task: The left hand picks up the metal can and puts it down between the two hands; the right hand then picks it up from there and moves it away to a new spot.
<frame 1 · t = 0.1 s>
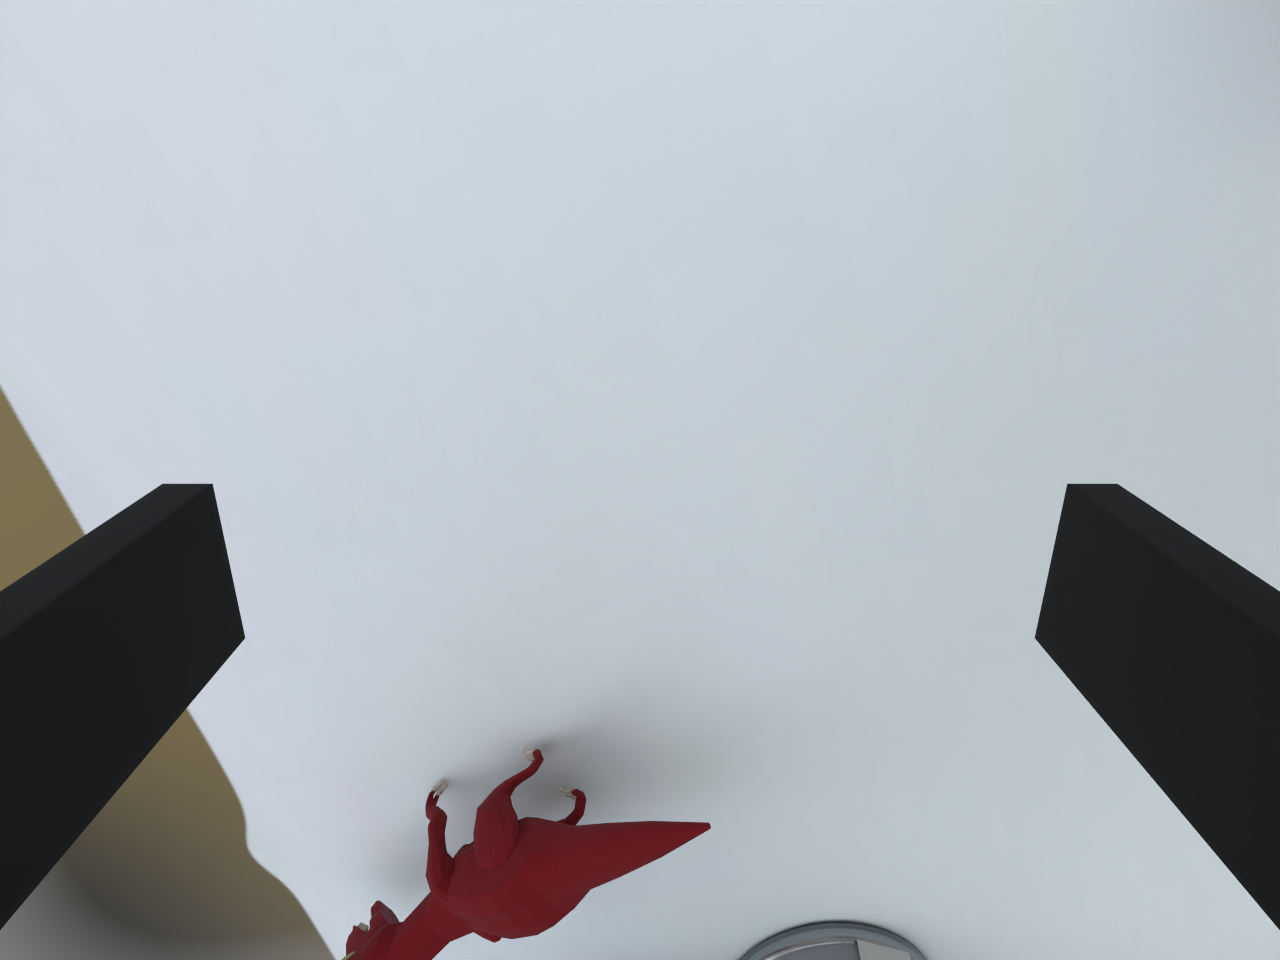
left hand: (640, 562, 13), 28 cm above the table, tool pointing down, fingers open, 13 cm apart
toy 2: (523, 781, 49), on the table
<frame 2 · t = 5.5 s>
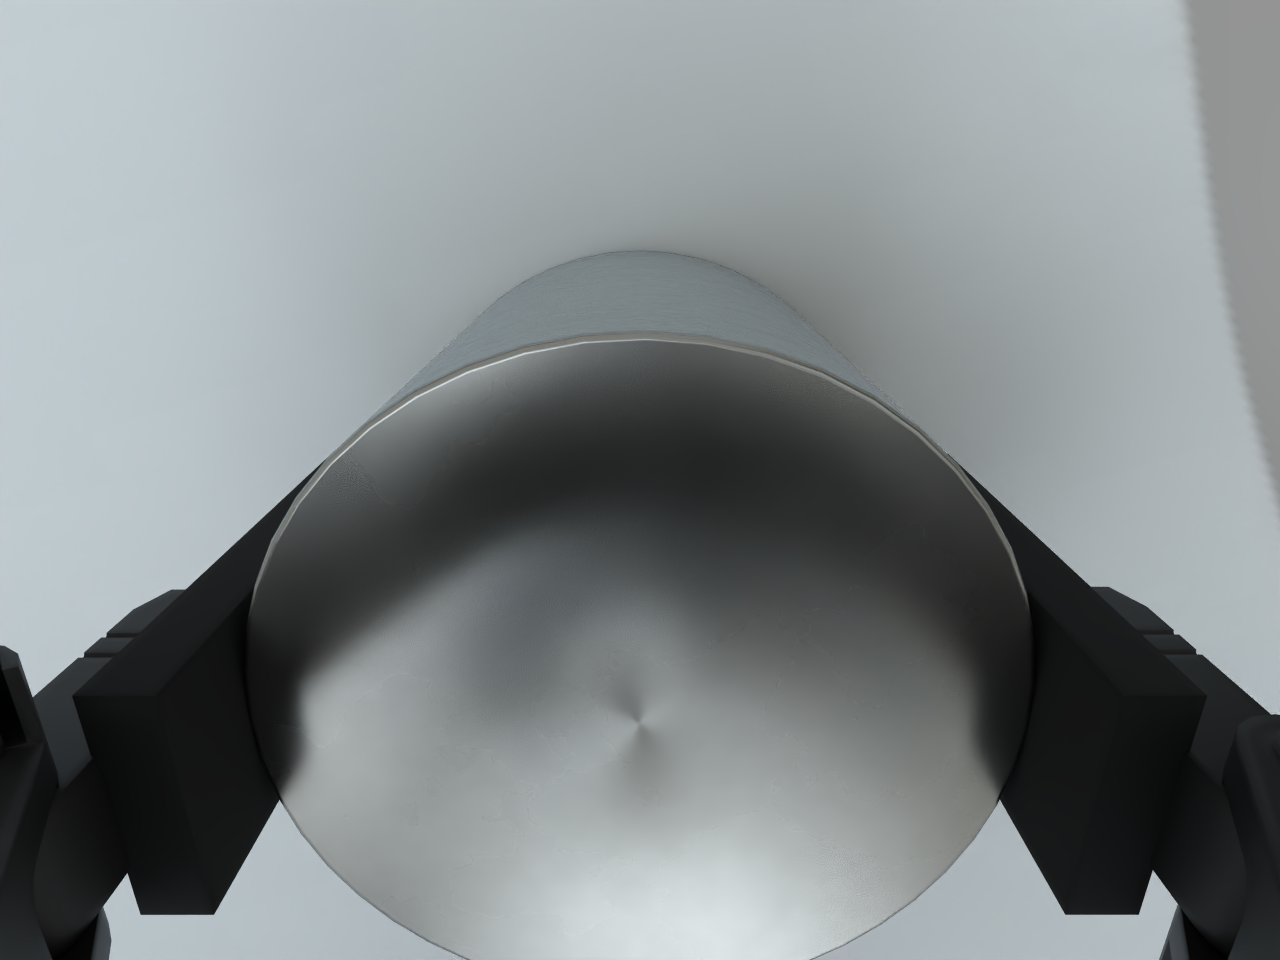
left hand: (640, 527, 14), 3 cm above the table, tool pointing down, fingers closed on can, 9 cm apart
can: (639, 475, 16), on the table, touching left hand
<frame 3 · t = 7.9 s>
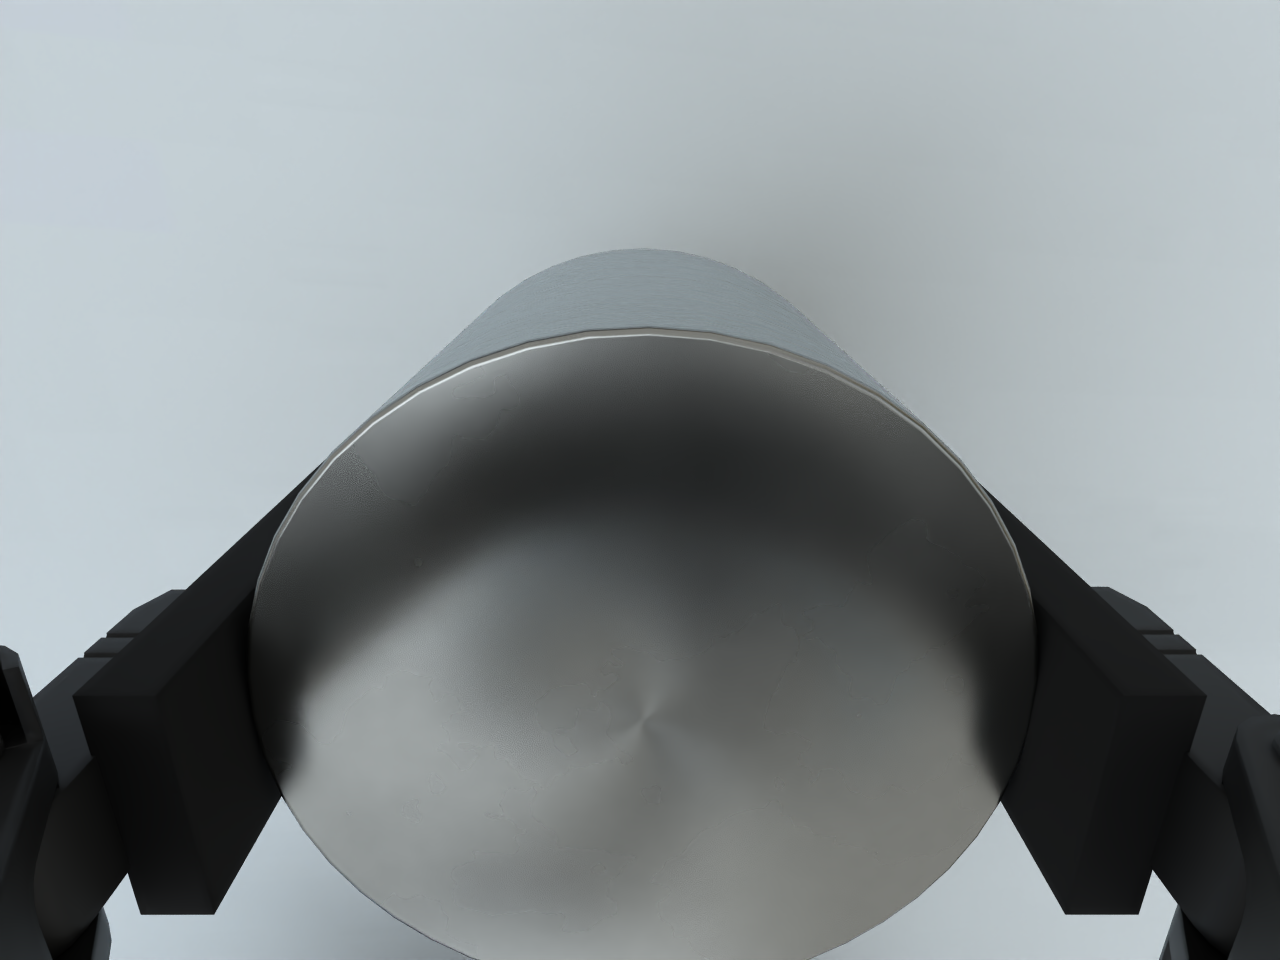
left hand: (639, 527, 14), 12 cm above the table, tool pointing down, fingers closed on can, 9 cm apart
can: (641, 473, 16), point 9 cm above the table, touching left hand
when the left hand's fingers open (4 cm above the table, at t = 10.5 s): can drops 2 cm, on the table.
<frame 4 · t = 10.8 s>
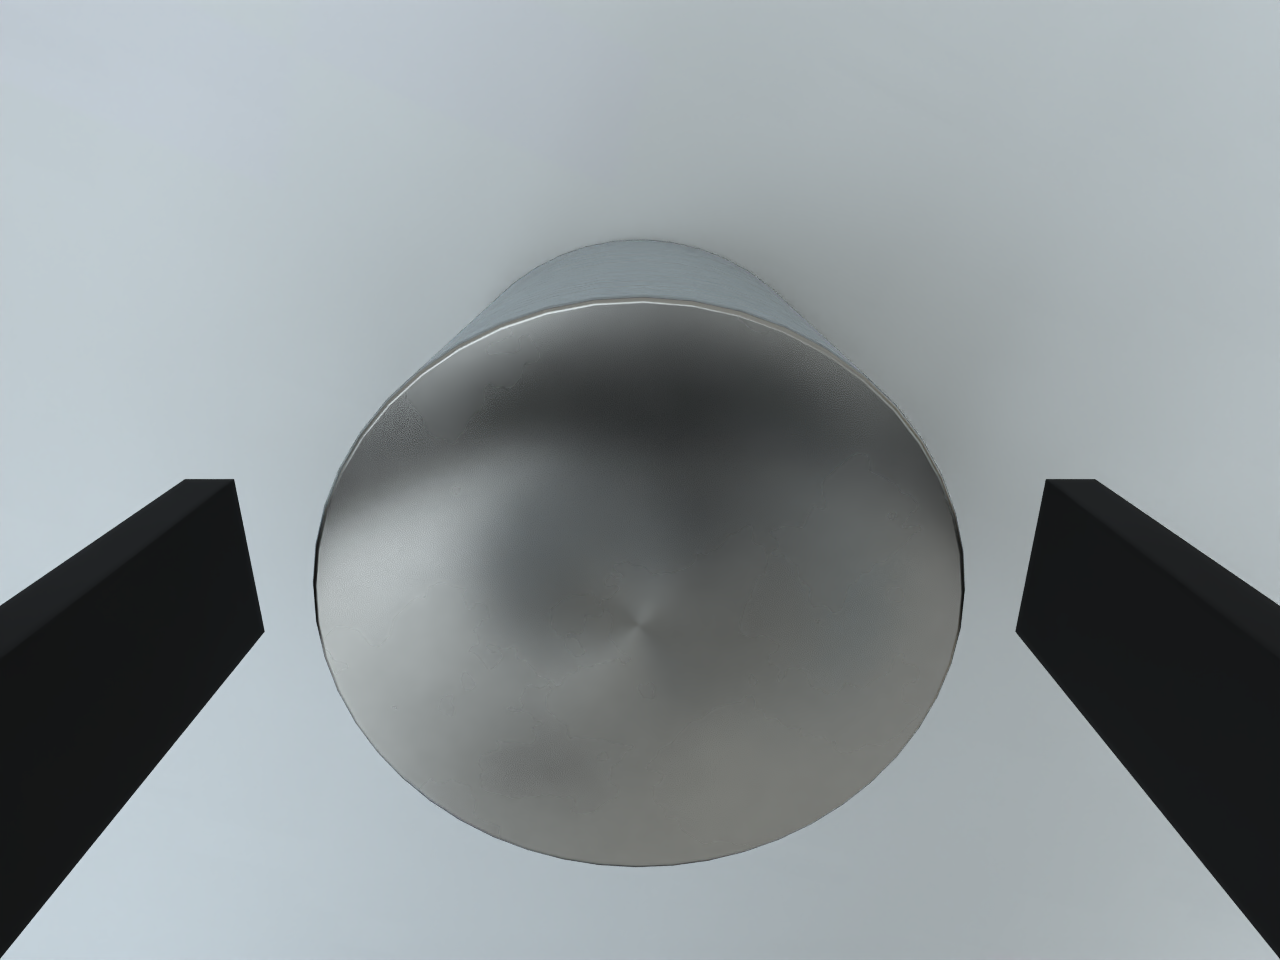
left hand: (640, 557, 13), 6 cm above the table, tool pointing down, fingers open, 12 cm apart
can: (639, 442, 18), on the table
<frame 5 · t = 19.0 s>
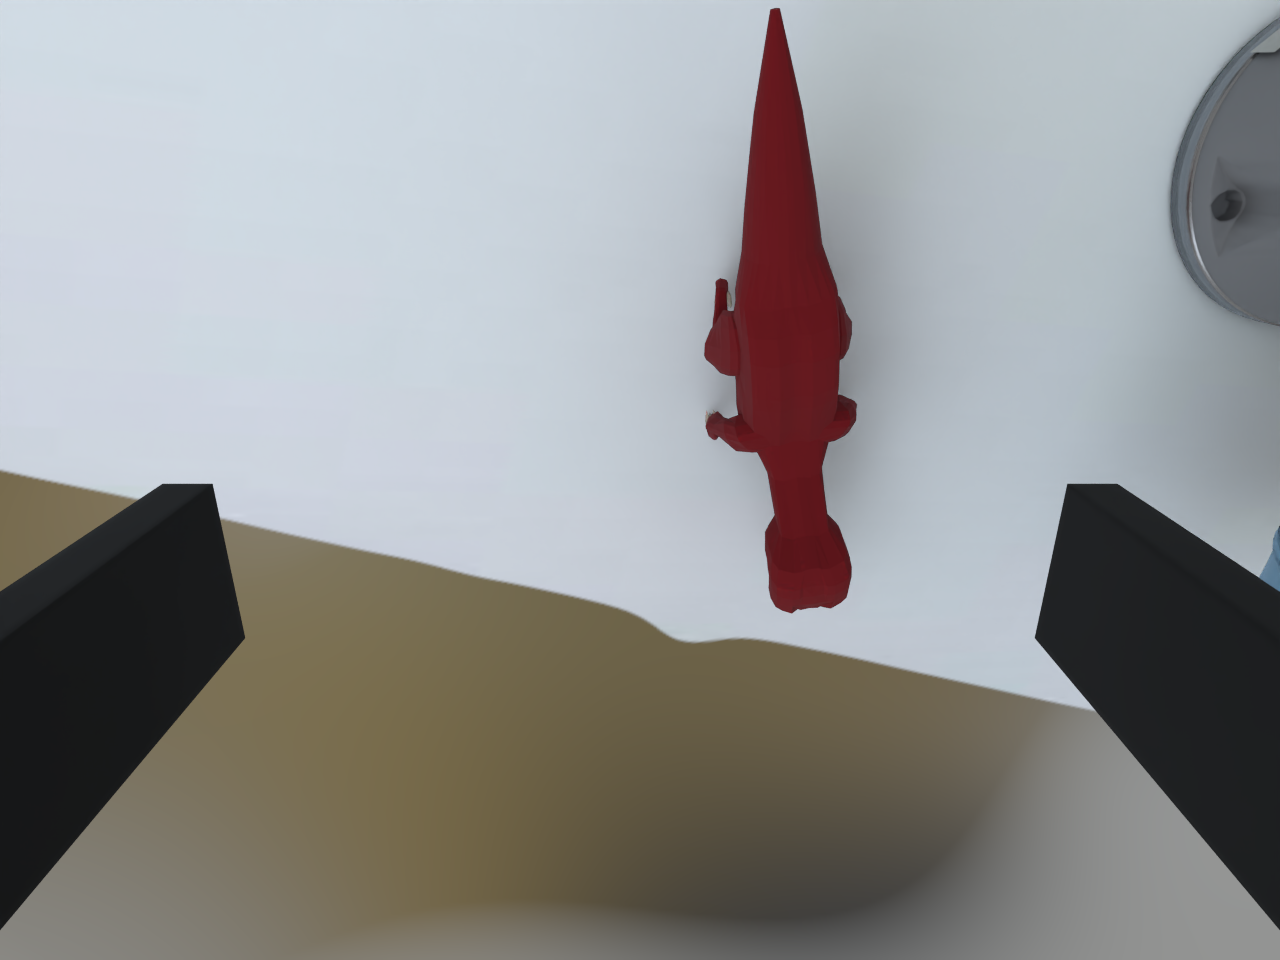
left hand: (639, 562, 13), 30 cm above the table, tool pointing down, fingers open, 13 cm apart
toy 2: (761, 335, 41), on the table
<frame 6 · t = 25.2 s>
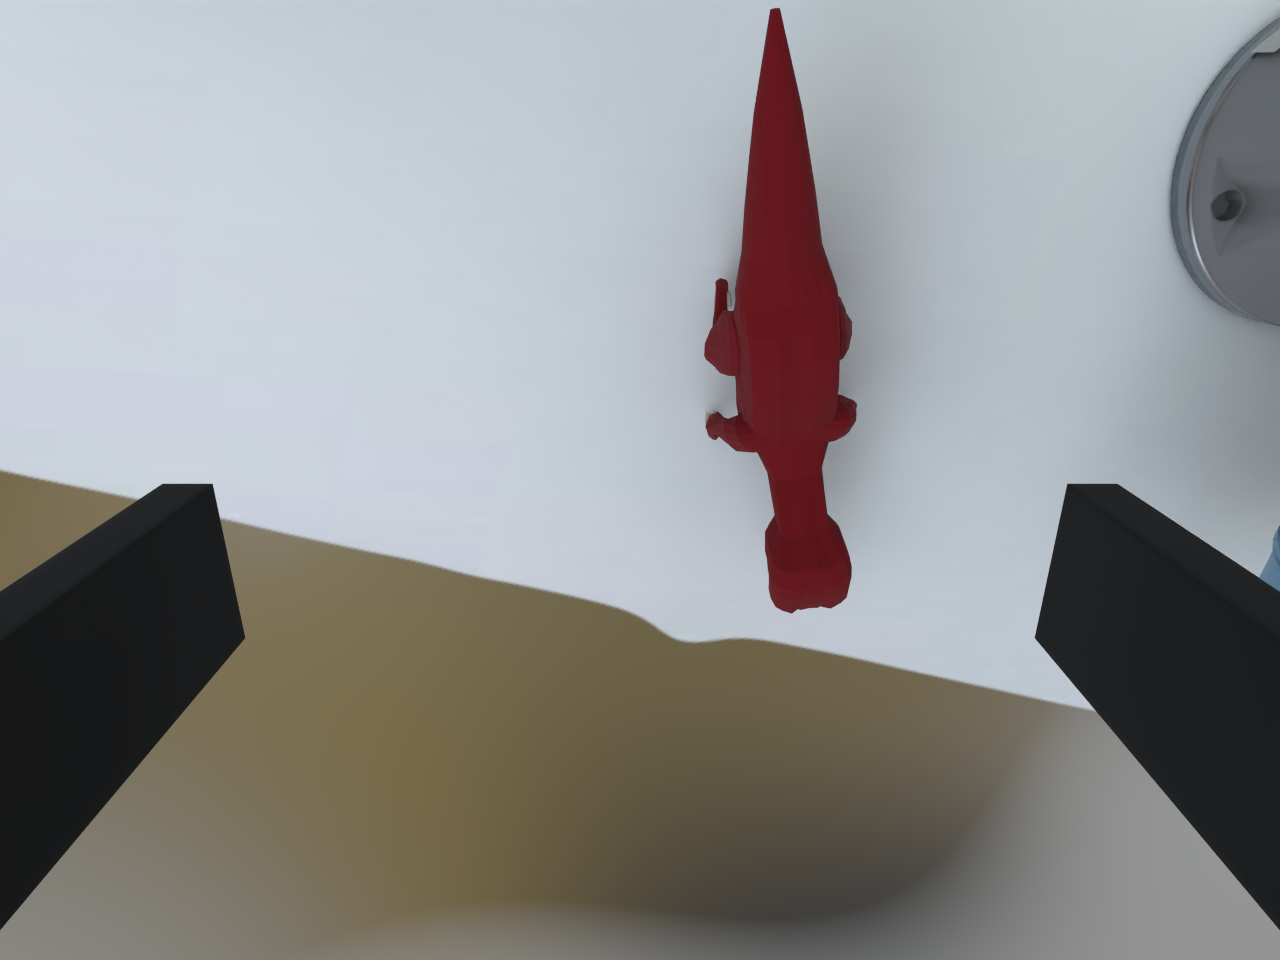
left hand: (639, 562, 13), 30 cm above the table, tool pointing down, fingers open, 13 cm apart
toy 2: (761, 335, 41), on the table
when the right hand's fingers open (4 cm above the table, at t = 31.3 s): can drops 2 cm, on the table.
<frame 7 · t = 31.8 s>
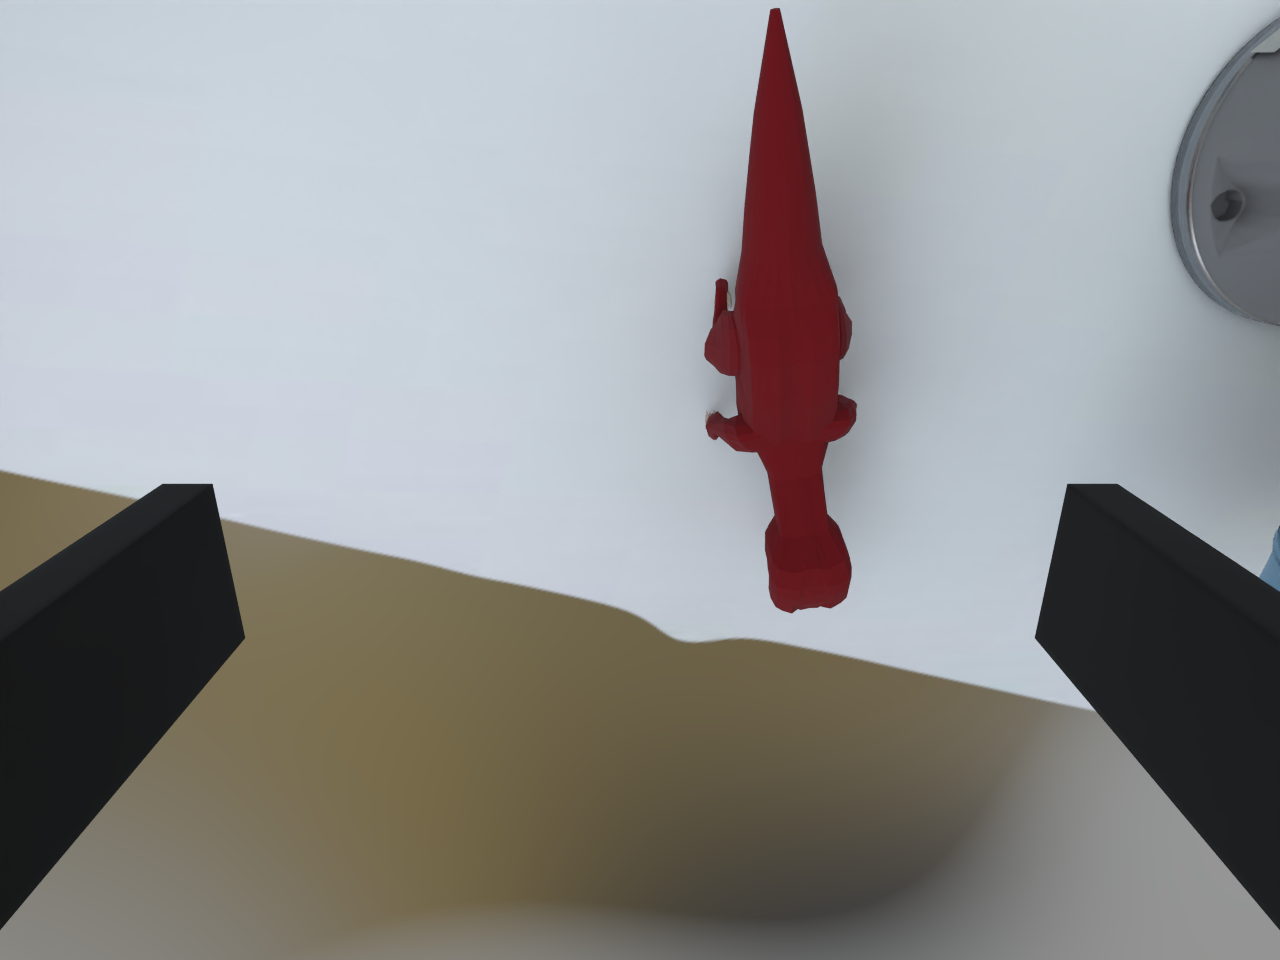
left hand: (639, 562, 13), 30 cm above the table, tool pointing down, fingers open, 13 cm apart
toy 2: (761, 335, 41), on the table
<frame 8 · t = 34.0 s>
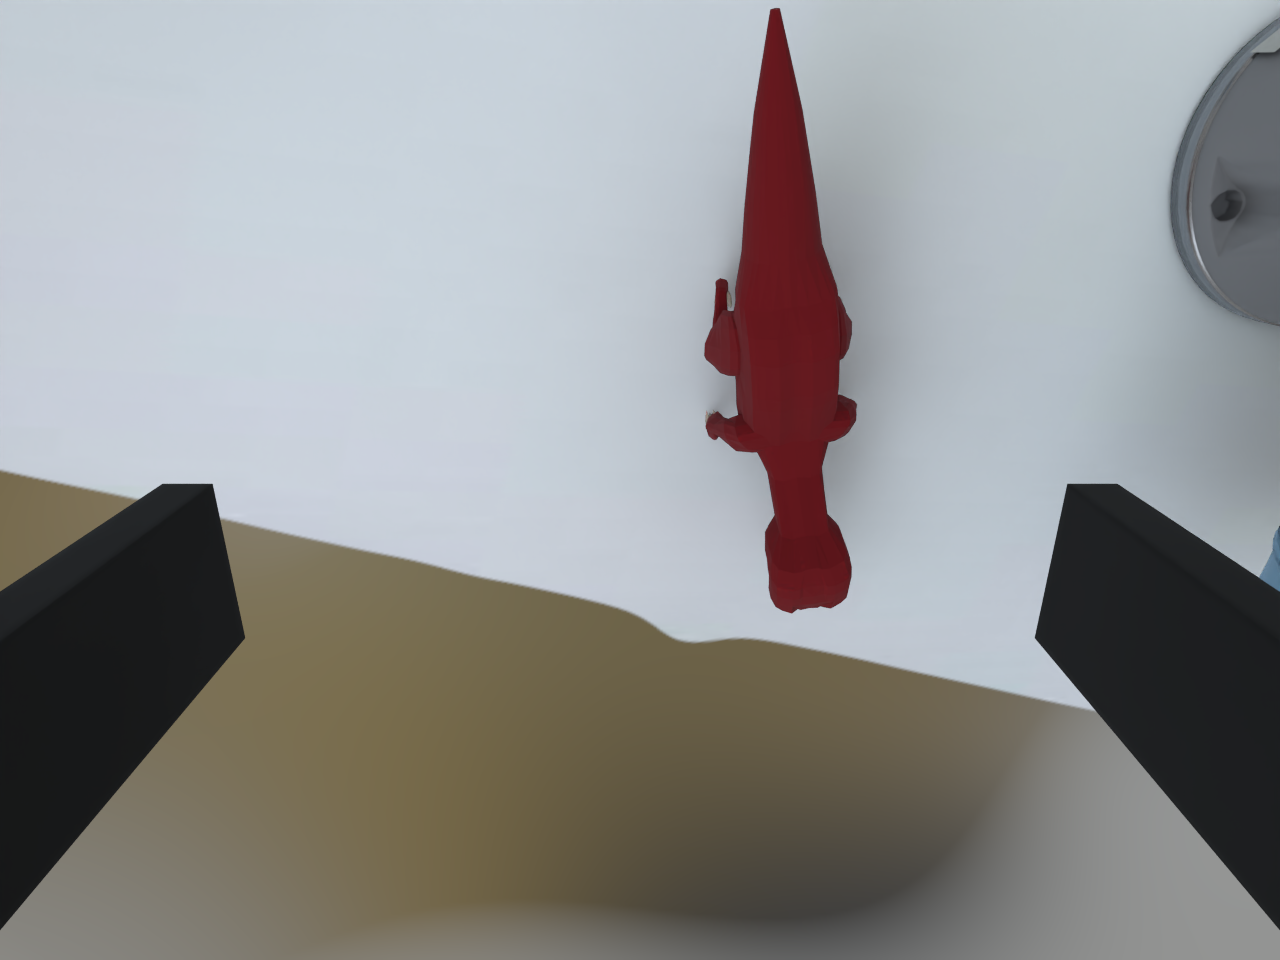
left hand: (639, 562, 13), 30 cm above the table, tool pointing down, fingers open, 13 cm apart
toy 2: (761, 335, 41), on the table
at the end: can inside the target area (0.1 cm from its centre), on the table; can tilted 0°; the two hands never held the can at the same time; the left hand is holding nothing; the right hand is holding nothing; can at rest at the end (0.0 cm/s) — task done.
